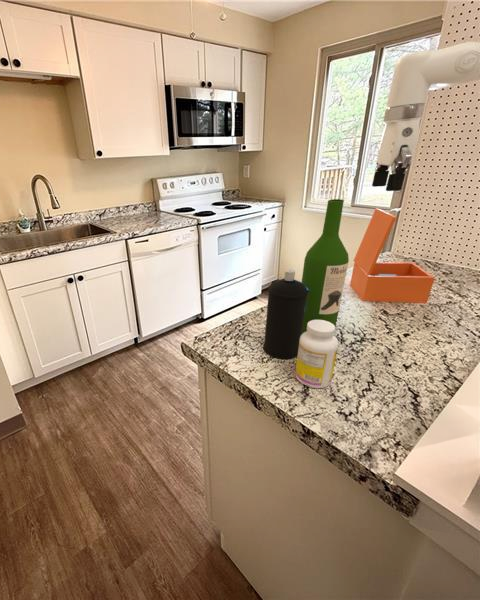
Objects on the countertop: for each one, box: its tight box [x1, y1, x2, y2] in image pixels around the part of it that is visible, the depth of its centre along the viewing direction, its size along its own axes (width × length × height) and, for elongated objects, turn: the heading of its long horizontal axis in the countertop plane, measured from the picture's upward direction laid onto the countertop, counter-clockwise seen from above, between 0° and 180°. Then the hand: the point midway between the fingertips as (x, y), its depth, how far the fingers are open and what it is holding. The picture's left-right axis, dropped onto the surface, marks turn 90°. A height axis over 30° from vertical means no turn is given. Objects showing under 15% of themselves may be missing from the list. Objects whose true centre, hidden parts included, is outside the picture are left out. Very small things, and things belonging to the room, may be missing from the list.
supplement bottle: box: [294, 320, 339, 389], centre depth 61 cm, size 7×7×13 cm
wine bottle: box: [301, 198, 350, 335], centre depth 73 cm, size 9×9×32 cm
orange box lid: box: [353, 208, 398, 275], centre depth 89 cm, size 16×13×1 cm
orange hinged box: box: [349, 261, 436, 304], centre depth 93 cm, size 16×13×8 cm
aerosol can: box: [262, 269, 309, 360], centre depth 70 cm, size 8×8×20 cm
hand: (385, 188), depth 83 cm, fingers open, 9 cm apart
